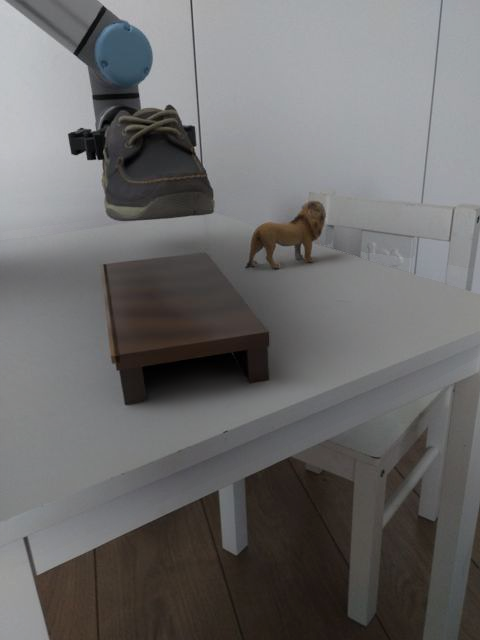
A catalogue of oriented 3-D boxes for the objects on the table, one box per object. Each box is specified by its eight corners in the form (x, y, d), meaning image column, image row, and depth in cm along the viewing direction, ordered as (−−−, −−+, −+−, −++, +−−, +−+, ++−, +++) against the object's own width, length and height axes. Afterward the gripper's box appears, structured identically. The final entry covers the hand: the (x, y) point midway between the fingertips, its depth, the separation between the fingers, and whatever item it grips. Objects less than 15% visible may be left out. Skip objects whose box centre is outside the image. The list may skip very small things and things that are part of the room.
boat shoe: (129, 241, 51) (111, 111, 46) (81, 195, 75) (66, 106, 71) (241, 226, 55) (235, 104, 50) (161, 186, 79) (152, 102, 75)
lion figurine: (313, 251, 95) (313, 196, 91) (333, 258, 91) (334, 201, 87) (237, 268, 88) (233, 209, 85) (255, 276, 84) (252, 215, 80)
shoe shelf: (106, 300, 77) (100, 264, 75) (209, 286, 81) (206, 252, 79) (119, 406, 51) (110, 355, 49) (271, 379, 55) (269, 331, 52)
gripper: (197, 154, 90) (232, 171, 70) (55, 164, 85) (50, 185, 65) (192, 102, 87) (228, 104, 67) (45, 109, 82) (36, 114, 62)
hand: (140, 144), depth 66 cm, fingers closed on boat shoe, 9 cm apart
